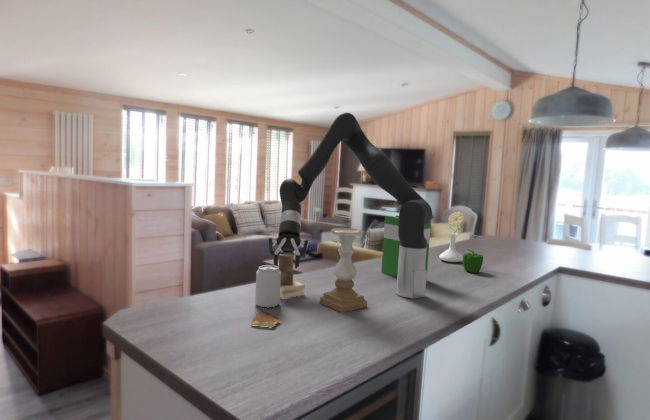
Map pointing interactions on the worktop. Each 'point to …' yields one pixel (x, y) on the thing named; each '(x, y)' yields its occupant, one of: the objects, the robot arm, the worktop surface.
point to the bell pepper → (472, 261)
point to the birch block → (292, 290)
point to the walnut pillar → (286, 268)
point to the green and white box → (396, 246)
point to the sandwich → (265, 319)
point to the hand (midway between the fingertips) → (286, 266)
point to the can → (268, 286)
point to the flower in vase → (453, 239)
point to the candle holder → (344, 275)
